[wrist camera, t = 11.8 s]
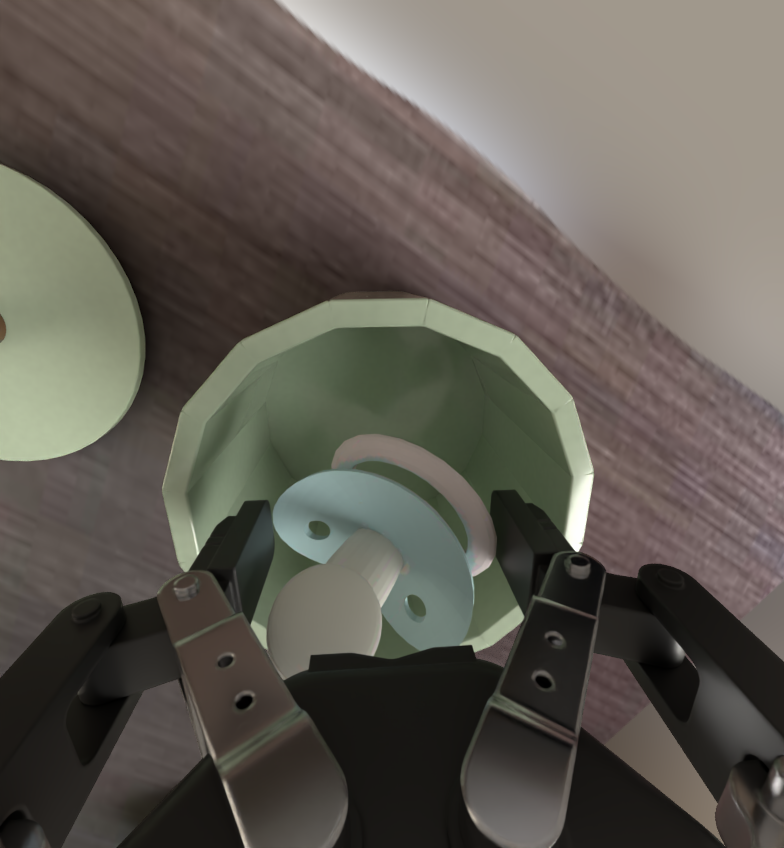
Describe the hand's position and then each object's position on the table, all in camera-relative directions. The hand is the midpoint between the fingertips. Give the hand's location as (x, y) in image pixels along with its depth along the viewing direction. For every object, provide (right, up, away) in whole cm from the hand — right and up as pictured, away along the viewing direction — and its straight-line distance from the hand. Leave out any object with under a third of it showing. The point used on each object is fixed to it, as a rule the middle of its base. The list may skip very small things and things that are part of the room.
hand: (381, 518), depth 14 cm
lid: (-21, +9, +7) cm, 23 cm away
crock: (-1, +4, +11) cm, 11 cm away
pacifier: (+1, 0, +1) cm, 1 cm away
